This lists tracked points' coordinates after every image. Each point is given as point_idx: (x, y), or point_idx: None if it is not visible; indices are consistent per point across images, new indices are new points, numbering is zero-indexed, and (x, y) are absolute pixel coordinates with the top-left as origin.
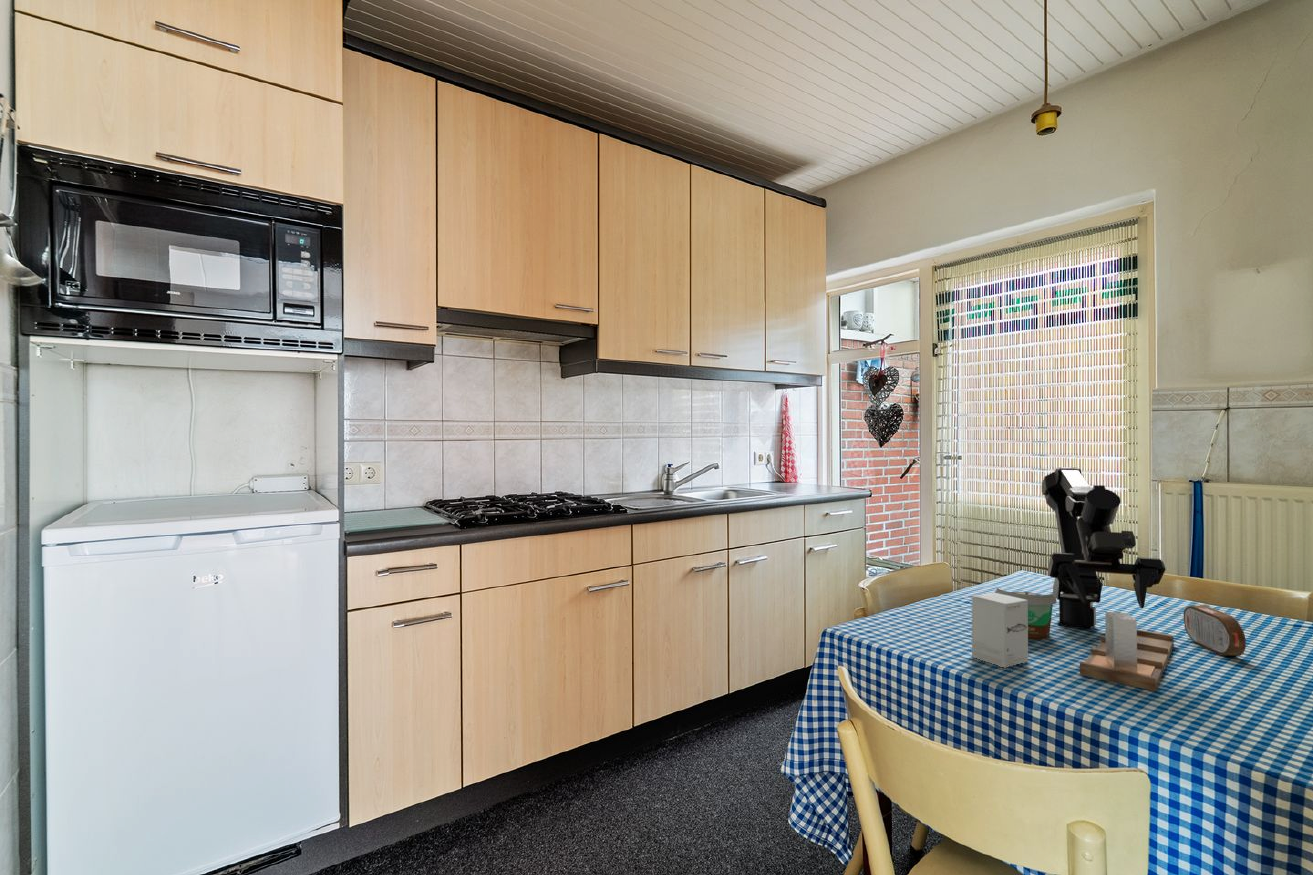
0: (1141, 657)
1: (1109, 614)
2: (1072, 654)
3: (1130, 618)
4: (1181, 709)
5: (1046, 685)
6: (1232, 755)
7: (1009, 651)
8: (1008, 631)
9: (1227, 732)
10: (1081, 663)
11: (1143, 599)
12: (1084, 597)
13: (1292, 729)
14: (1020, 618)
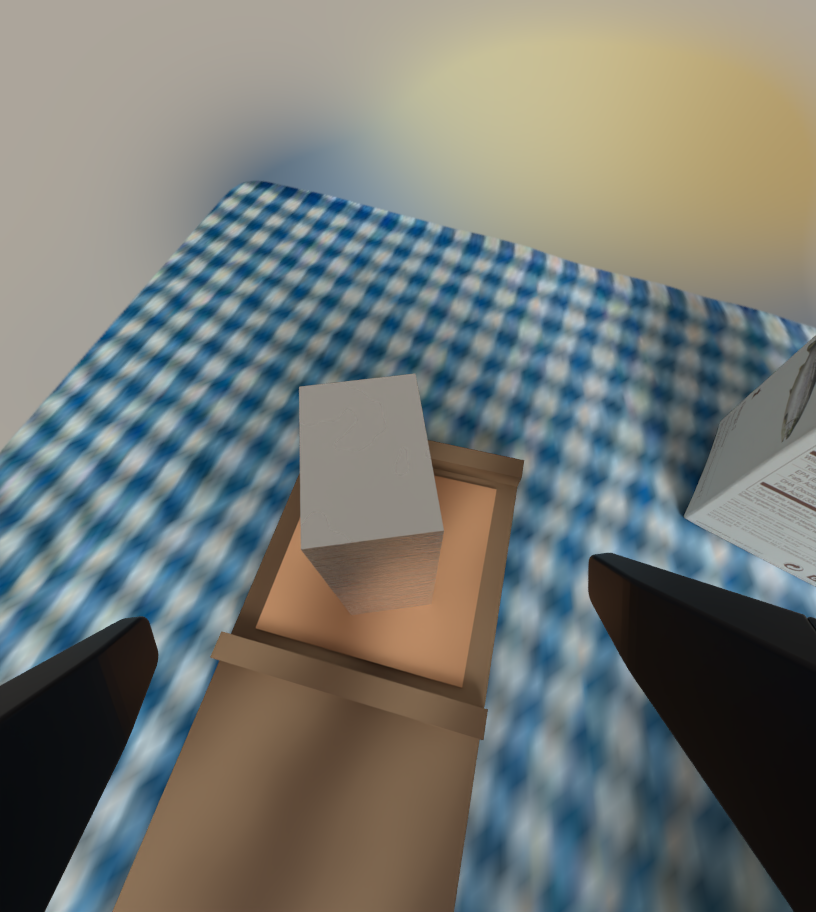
0: (284, 674)
1: (426, 453)
2: (557, 769)
3: (321, 412)
4: (301, 346)
5: (586, 352)
6: (294, 208)
7: (748, 402)
8: (811, 345)
9: (259, 277)
10: (518, 460)
11: (76, 653)
12: (621, 563)
13: (112, 341)
14: None
